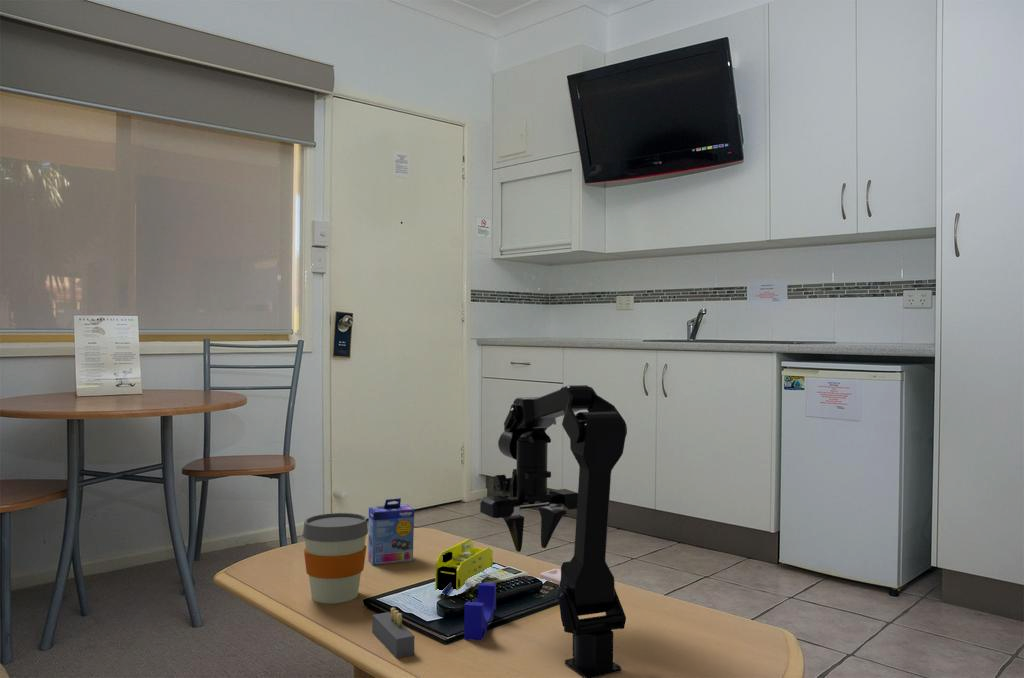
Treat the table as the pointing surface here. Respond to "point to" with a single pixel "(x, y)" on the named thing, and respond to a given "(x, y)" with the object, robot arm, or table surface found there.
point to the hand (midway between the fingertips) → (531, 549)
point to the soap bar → (552, 575)
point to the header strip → (393, 633)
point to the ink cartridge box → (390, 533)
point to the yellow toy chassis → (461, 564)
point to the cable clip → (479, 612)
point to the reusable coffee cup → (335, 555)
